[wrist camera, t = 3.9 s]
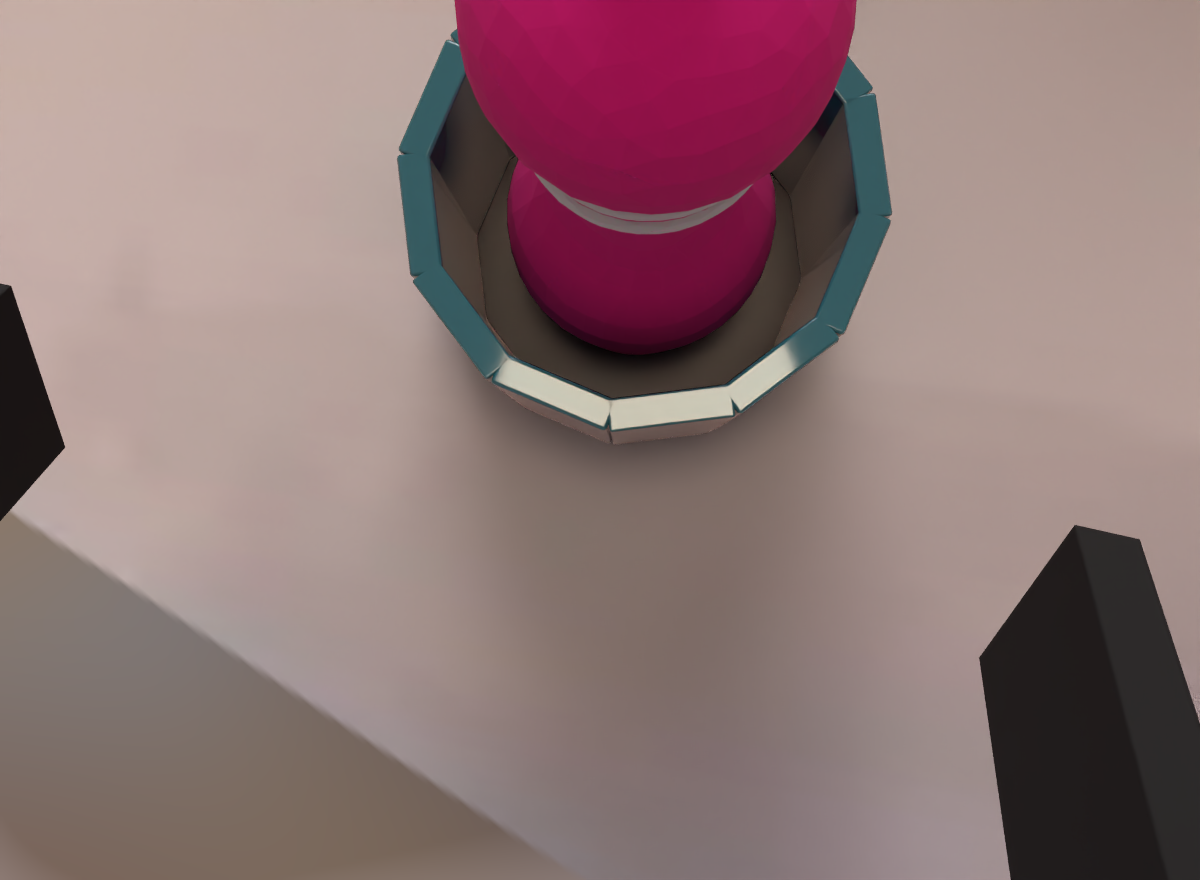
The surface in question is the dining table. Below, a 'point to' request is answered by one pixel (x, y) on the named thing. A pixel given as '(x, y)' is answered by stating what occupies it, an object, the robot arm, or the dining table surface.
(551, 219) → the pepper mill
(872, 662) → the dining table surface
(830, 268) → the crock
